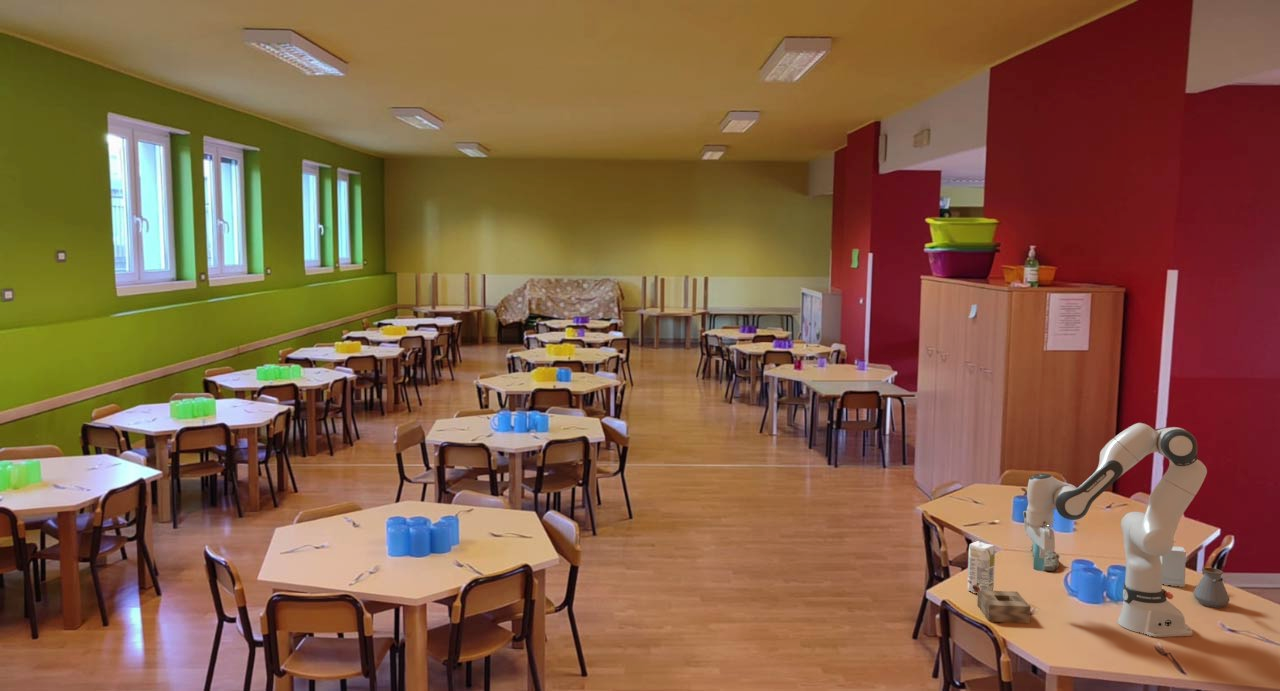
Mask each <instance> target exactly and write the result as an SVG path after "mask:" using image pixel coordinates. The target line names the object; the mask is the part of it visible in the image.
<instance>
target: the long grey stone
mask: <svg viewBox="0 0 1280 691" xmlns="http://www.w3.org/2000/svg"><path fill="white" fill-rule="evenodd" d="M1030 551H1031V552H1032V554H1031V555H1032V557H1033V559H1032V560H1034V547H1033V543H1032V544H1031V550H1030ZM1054 551H1055V550H1054ZM1054 551H1046V553H1045V558H1044V571H1047V572H1048V571H1050V572H1051V571H1052V572H1054V571H1055V570H1057V569H1058V568H1059V565H1060V563H1059V558H1060V555H1059V554H1058V553H1055V552H1054ZM1055 568H1056V569H1055Z"/></svg>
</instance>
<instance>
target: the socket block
mask: <svg viewBox="0 0 1280 691" xmlns="http://www.w3.org/2000/svg"><path fill="white" fill-rule="evenodd" d="M976 604H977V605H976V606H977V607H978V609H979V608H980V609H979V610H980V612H982V614H983V615H985V616H984V617H985V618H986V620H987V621H988V622H994V621H995V622H996V623H997V622H1000V623H1019V622H1026V623H1025V624H1029V623H1028V622H1030V620H1031V606H1030V604H1029V603H1028V602H1027V601H1026V600H1025V599H1024V598H1023V596H1022V595H1021V594H1020V593H1019V592H1018V591H1013V590H1012V591H1011V590H1007V591H1006V590H993V591H986V590H978V594H977V603H976ZM995 622H994V623H995Z"/></svg>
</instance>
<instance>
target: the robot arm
mask: <svg viewBox="0 0 1280 691" xmlns="http://www.w3.org/2000/svg"><path fill="white" fill-rule="evenodd" d="M1152 453H1158V454H1160V455H1162V456H1163V457H1164V458H1166V459H1168V461H1169V466H1168V468H1167V470H1166V471H1165V473H1164V474H1163V475H1162V477H1161V479H1160V480H1159V482H1158V483H1157V484H1156V486H1155V487H1154V489H1153V490H1152V492H1151V493H1150V495H1149V497H1148V504H1147V507H1146V510H1145V512H1142V511H1130V512H1128V513H1126V514H1125V515H1124V516H1123V517H1122V519H1121V521H1120V527H1121V532H1122V536H1123V546H1124V555H1125V578H1124V579H1125V580H1124V583H1123V591H1122V599H1123V603H1122V608H1121V611H1120V614H1119V617H1118V620H1117V623H1118V624H1119V625H1120V626H1121V627H1123V628H1125V629H1127V630H1129V631H1132V632H1134V633H1135V632H1136V633H1139V632H1140V633H1139V634H1143V633H1144V634H1143V635H1145V634H1147V635H1146V636H1148V635H1149V637H1151V636H1154V637H1153V638H1156V637H1155V636H1159V637H1158V638H1167V637H1185V636H1186V637H1190V636H1193V630H1192V628H1191V627H1190V626H1189V625H1188V624H1186V620H1185V615H1184V613H1182V611H1181V610H1180V609H1179V608H1177V607H1176V606H1175V605H1174V604H1172V603H1171V602H1170V601H1169V600H1173V598H1174V595H1173V594H1172V593H1171V592H1169V591H1167V590H1165V589H1164V588H1163V587H1162V586H1163V585H1162V574H1163V567H1162V564H1161V560H1160V556H1164V555H1166V554H1168V553H1169V552H1170V551H1171V550H1172V548H1173V546H1174V542H1175V541H1174V537H1175V534H1176V531H1177V528H1178V526H1179V524H1180V522H1181V518H1182V517H1183V515H1184V513H1185V512H1186V510H1187V508H1188V507H1189V506H1190V504H1191V502H1192V501H1193V500H1194V498H1195V496H1196V495H1197V494H1198V492H1199V490H1200V488H1201V487H1202V484H1203V483H1204V481H1205V478H1206V476H1207V473H1208V469H1207V467H1206V465H1205V464H1204V463H1203V461H1202V460H1200V459H1198V442H1197V439H1196V437H1195V436H1194V435H1193V433H1191V432H1189V431H1187V430H1186V429H1184V428H1182V427H1178V426H1177V427H1176V426H1167V427H1166V426H1165V427H1160V428H1156V429H1154V428H1153V427H1151V426H1150V425H1148V424H1146V423H1142V422H1137V423H1134V424H1132V425H1131V426H1128V427H1127V428H1125V429H1124V430H1122V431H1121V432H1119V433H1118V434H1117V435H1115V436H1114V437H1113V438H1112V439H1110V440H1109V441H1108V442H1107V443H1106V444H1105V445H1104V446H1103V447H1102V449H1101V450H1100V452H1099V461H1098V466H1097V467H1096V470H1095V471H1094V472H1093V473H1092V475H1090V476H1089V477H1088V478H1087V479H1086V480H1085V481H1083V482H1082V484H1080V485H1079V486H1078V487H1076V486H1075V485H1073V484H1071V483H1068V482H1064V481H1061V480H1059V479H1057V478H1055V477H1054V476H1053V475H1052V474H1049V473H1038V474H1033V475H1032V476H1030V478H1029V479H1028V483H1027V492H1026V499H1027V507H1026V510H1024V511H1022V512H1023V513H1022V516H1023V518H1024V519H1023V520H1024V523H1023V524H1024V532H1025V536H1027V537H1028V538H1029V539H1030V540H1031V541H1032V542H1031V543H1032V544H1033V547H1034V537H1035V543H1036V544H1037V545H1038V546H1039V548H1040V552H1039V557H1040V558H1045V553H1046V551H1055V549H1056V540H1055V538H1056V537H1055V532H1054V530H1053V528H1051V527H1052V526H1053V525H1054V512H1055V511H1054V510H1056V511H1057V513H1058V514H1059V515H1060V516H1061V517H1062V518H1064V519H1066V520H1070V521H1077V520H1080V519H1083V518H1084V517H1085V516H1086V515H1087V513H1088V511H1089V509H1090V508H1091V505H1092V504H1093V503H1094V501H1095V500H1097V499H1098V498H1099V497H1100V496H1101V495H1102V494H1103V493H1104V492H1105V491H1106V490H1108V488H1110V486H1111V485H1113V484H1114V483H1115V481H1117V480H1118V479H1119V478H1121V476H1123V475H1124V474H1126V472H1128V471H1129V470H1130V469H1132V468H1133V467H1134V466H1135V465H1137V464H1138V463H1139V462H1140V461H1141V460H1143V459H1144V458H1145V457H1146V456H1148V455H1150V454H1152ZM1168 599H1169V600H1168Z"/></svg>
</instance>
